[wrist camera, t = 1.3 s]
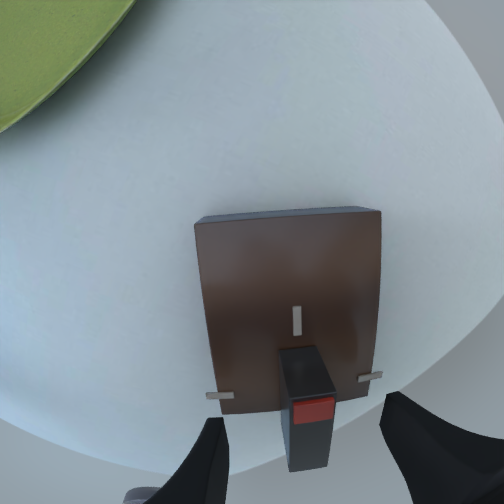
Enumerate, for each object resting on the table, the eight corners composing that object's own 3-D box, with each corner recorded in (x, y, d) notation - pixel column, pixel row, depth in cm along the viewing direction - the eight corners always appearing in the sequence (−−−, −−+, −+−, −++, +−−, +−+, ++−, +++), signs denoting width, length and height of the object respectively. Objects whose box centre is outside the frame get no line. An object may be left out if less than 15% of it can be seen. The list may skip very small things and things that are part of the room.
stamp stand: (355, 401, 18) (370, 431, 15) (221, 417, 18) (218, 451, 15) (367, 205, 15) (394, 210, 12) (191, 217, 15) (178, 225, 12)
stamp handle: (313, 419, 14) (328, 470, 11) (281, 423, 14) (289, 476, 11) (316, 345, 13) (339, 395, 10) (278, 349, 13) (290, 402, 9)
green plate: (29, 207, 14) (-4, 213, 11) (-63, 90, 11) (-84, 87, 8) (241, -45, 11) (242, -75, 8) (73, -80, 8) (61, -96, 5)
